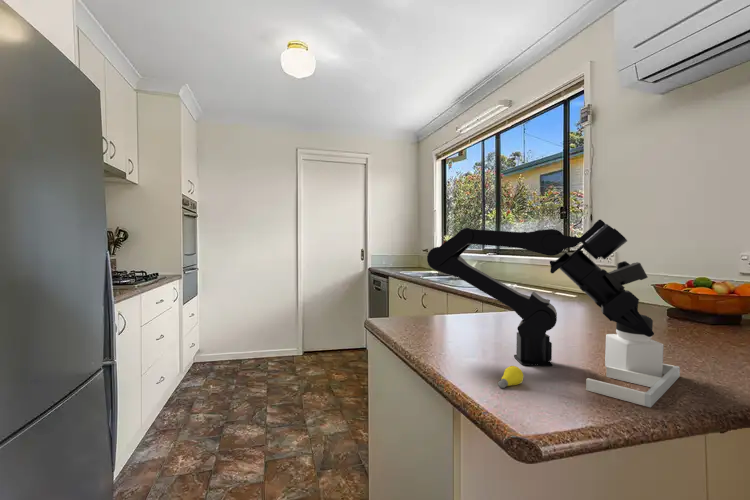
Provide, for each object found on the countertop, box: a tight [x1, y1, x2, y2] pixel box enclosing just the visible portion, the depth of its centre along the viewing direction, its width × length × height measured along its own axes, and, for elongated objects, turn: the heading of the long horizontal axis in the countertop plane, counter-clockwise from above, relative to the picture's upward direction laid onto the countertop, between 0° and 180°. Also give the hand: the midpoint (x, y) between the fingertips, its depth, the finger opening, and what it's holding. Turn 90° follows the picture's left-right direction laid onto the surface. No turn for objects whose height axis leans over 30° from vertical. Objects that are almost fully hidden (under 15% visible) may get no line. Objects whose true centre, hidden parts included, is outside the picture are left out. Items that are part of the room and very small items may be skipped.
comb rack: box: [585, 363, 681, 408], centre depth 71 cm, size 22×10×2 cm, turn 131°
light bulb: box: [497, 365, 524, 389], centre depth 70 cm, size 3×6×4 cm, turn 124°
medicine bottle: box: [604, 314, 664, 378], centre depth 76 cm, size 7×7×12 cm
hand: (648, 332), depth 74 cm, fingers closed on medicine bottle, 6 cm apart
